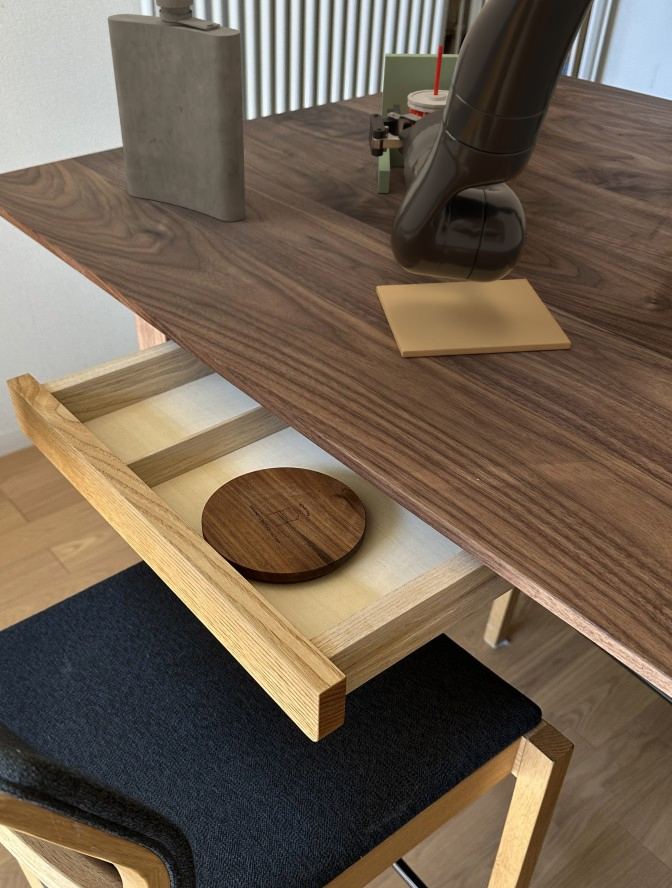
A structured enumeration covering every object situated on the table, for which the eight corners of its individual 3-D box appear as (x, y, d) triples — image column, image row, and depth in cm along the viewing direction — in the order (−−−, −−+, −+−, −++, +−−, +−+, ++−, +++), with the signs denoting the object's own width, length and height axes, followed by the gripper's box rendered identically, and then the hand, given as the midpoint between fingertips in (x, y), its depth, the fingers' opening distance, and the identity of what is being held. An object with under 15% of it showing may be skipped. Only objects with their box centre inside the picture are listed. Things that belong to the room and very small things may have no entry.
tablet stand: (471, 164, 103) (487, 54, 95) (479, 195, 96) (497, 78, 88) (377, 163, 104) (385, 53, 96) (377, 193, 97) (386, 76, 89)
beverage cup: (461, 177, 100) (479, 43, 91) (439, 193, 96) (455, 55, 87) (414, 168, 103) (427, 36, 93) (391, 183, 99) (402, 47, 90)
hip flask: (122, 193, 97) (97, -12, 84) (146, 183, 100) (125, -18, 86) (234, 223, 90) (225, 5, 77) (256, 211, 93) (251, -2, 79)
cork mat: (525, 284, 79) (526, 278, 78) (569, 349, 70) (571, 342, 69) (376, 291, 78) (376, 285, 78) (402, 357, 69) (402, 351, 69)
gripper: (527, 124, 78) (506, 77, 90) (372, 121, 79) (371, 76, 91) (513, 206, 83) (494, 151, 95) (366, 202, 84) (367, 149, 96)
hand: (434, 114), depth 93 cm, fingers open, 8 cm apart
